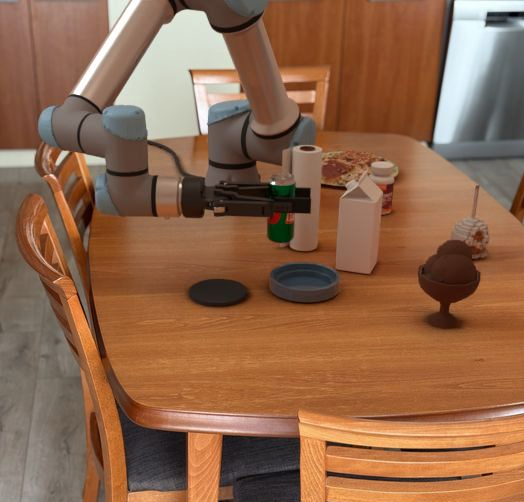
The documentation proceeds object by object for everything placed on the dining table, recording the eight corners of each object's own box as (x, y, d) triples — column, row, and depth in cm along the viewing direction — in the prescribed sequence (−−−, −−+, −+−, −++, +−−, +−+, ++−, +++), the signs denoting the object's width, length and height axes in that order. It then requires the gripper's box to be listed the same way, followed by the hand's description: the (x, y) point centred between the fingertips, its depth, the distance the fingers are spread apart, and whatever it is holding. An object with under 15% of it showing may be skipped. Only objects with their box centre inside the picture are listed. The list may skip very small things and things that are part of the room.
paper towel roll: (321, 244, 185) (326, 146, 175) (311, 254, 180) (316, 153, 170) (291, 238, 187) (294, 141, 177) (279, 248, 183) (282, 148, 172)
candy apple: (474, 264, 177) (485, 194, 169) (442, 253, 181) (450, 185, 174) (493, 253, 182) (504, 185, 175) (461, 244, 186) (470, 177, 179)
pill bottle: (373, 216, 201) (377, 169, 195) (360, 208, 206) (364, 162, 200) (396, 213, 203) (400, 166, 197) (383, 205, 208) (386, 159, 202)
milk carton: (377, 262, 177) (385, 172, 168) (369, 275, 171) (377, 182, 162) (343, 257, 179) (349, 168, 170) (334, 270, 173) (340, 178, 164)
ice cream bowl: (405, 309, 157) (413, 232, 150) (464, 307, 158) (475, 231, 151) (419, 336, 148) (429, 255, 141) (482, 334, 149) (495, 254, 142)
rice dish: (368, 201, 214) (370, 180, 211) (274, 176, 226) (275, 156, 223) (414, 173, 234) (417, 154, 232) (326, 153, 247) (328, 134, 244)
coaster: (177, 292, 162) (177, 289, 162) (221, 277, 169) (221, 273, 168) (214, 312, 155) (214, 308, 155) (259, 295, 162) (259, 291, 161)
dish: (255, 287, 165) (255, 274, 163) (304, 269, 173) (304, 256, 171) (304, 310, 156) (304, 296, 155) (353, 290, 164) (354, 277, 163)
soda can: (291, 245, 156) (293, 181, 150) (264, 242, 157) (265, 179, 151) (296, 235, 161) (298, 172, 155) (269, 233, 161) (270, 170, 156)
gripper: (188, 200, 165) (309, 203, 165) (176, 234, 149) (310, 238, 149) (187, 162, 162) (310, 165, 161) (175, 192, 146) (312, 196, 145)
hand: (310, 200), depth 155 cm, fingers closed on soda can, 5 cm apart
